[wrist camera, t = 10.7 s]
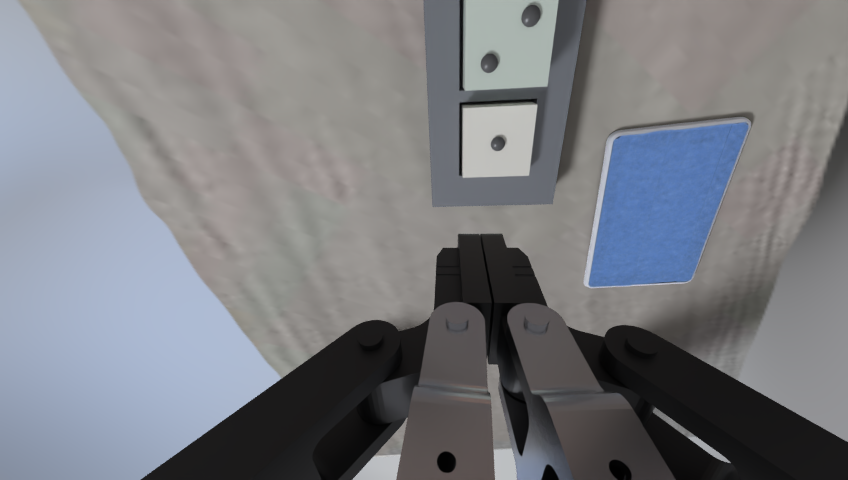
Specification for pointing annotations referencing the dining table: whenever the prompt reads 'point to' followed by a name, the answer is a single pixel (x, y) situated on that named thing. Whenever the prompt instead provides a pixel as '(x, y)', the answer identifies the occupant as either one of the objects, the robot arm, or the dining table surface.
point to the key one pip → (497, 138)
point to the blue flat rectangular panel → (660, 200)
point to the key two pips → (507, 43)
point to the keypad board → (449, 95)
